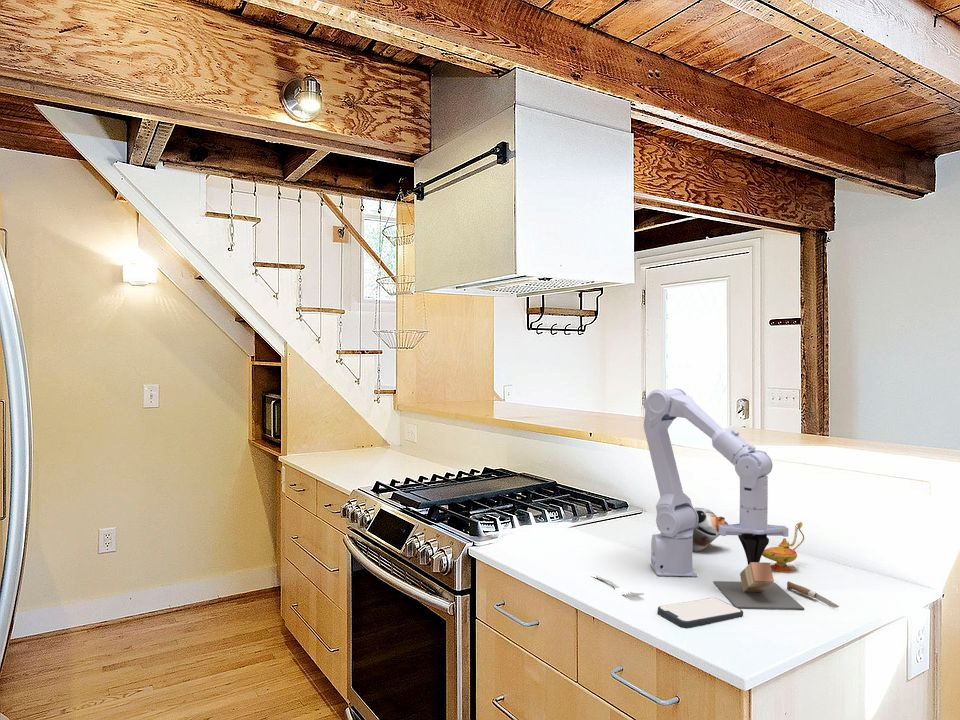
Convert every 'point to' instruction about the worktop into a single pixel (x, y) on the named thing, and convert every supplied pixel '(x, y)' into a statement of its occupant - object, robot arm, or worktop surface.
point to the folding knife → (810, 594)
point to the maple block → (756, 577)
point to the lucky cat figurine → (706, 529)
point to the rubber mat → (757, 597)
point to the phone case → (699, 612)
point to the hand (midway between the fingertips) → (753, 568)
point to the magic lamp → (783, 553)
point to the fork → (618, 587)
